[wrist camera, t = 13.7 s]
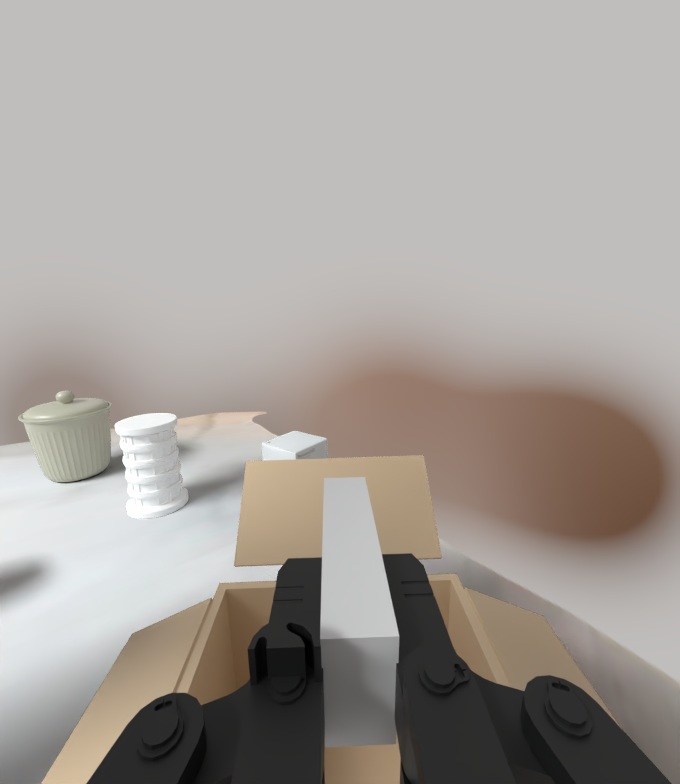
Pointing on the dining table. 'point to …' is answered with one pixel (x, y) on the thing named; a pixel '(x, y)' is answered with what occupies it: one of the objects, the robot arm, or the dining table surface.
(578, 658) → the dining table surface
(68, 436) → the canister
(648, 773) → the robot arm
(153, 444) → the decorative container
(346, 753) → the carton
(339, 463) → the carton flap
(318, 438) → the supplement box
